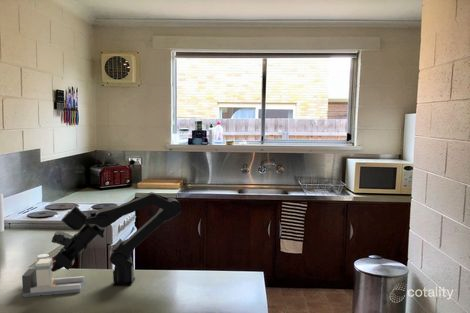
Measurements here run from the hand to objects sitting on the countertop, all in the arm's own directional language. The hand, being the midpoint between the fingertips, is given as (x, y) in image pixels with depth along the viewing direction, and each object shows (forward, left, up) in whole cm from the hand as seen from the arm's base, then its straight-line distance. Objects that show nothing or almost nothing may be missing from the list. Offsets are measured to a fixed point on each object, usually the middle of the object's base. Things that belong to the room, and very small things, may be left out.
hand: (52, 270), depth 136 cm
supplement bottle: (+7, -9, -7) cm, 13 cm away
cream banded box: (+2, 0, -5) cm, 6 cm away
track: (0, 0, -7) cm, 7 cm away
